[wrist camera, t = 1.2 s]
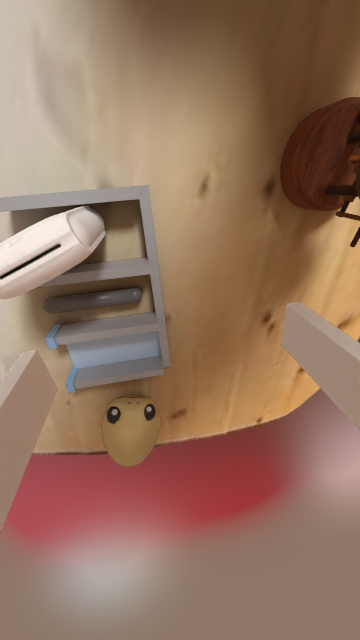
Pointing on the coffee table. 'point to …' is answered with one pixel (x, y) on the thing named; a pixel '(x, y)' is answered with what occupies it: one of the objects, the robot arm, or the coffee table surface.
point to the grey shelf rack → (106, 302)
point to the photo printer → (48, 249)
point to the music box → (325, 160)
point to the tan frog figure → (130, 429)
